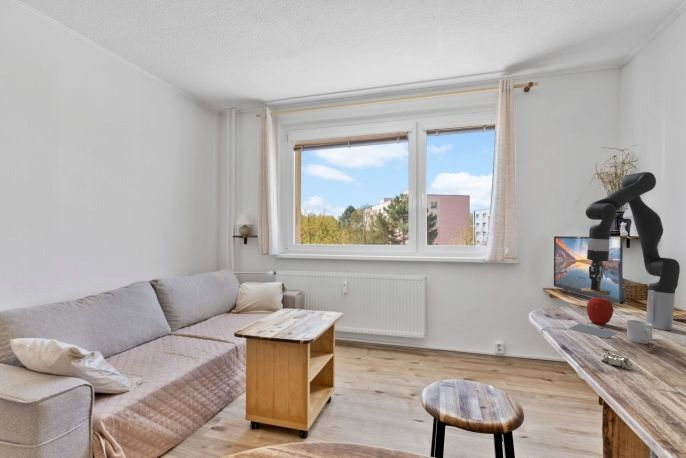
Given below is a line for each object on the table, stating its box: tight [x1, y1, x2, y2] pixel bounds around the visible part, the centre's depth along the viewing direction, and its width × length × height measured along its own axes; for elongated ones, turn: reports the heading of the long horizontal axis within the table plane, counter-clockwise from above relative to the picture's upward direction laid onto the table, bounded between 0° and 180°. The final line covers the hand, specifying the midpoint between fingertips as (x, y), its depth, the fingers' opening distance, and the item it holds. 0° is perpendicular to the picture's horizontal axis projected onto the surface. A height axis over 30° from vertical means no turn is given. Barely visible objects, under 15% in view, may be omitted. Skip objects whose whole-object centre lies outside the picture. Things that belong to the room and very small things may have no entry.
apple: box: [586, 295, 615, 326], centre depth 159 cm, size 10×10×14 cm
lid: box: [580, 279, 611, 296], centre depth 146 cm, size 10×10×6 cm
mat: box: [567, 323, 618, 340], centre depth 146 cm, size 15×14×1 cm
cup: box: [626, 319, 654, 345], centre depth 134 cm, size 11×8×8 cm
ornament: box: [601, 351, 634, 371], centre depth 110 cm, size 8×7×4 cm
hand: (595, 288), depth 146 cm, fingers closed on lid, 3 cm apart
